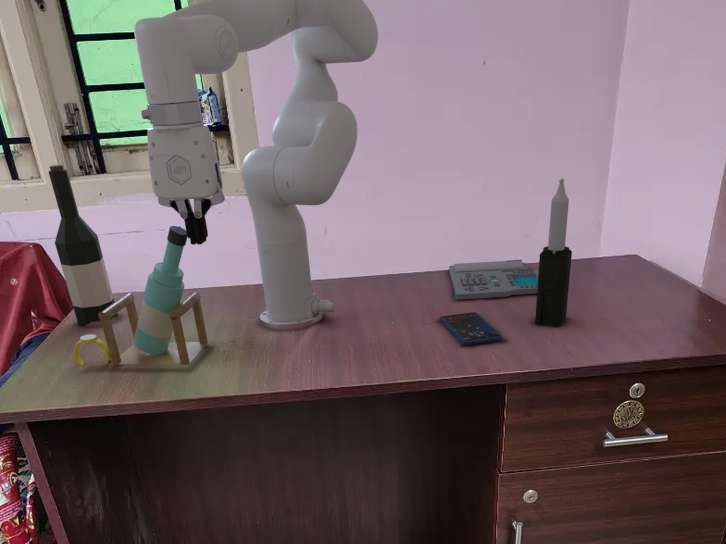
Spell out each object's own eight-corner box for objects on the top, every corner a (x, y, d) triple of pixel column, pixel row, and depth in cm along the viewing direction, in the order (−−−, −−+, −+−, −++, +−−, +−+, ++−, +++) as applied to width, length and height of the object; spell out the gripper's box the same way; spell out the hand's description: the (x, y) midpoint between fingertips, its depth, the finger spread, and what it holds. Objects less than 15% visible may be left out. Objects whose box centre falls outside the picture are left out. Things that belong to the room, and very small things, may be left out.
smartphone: (475, 311, 139) (503, 336, 127) (475, 315, 140) (503, 341, 127) (438, 316, 138) (462, 342, 126) (438, 320, 139) (462, 346, 126)
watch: (77, 373, 126) (67, 340, 123) (81, 367, 129) (72, 335, 125) (111, 370, 126) (102, 338, 123) (115, 364, 129) (106, 332, 125)
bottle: (217, 345, 130) (192, 221, 119) (205, 358, 125) (178, 230, 113) (145, 346, 132) (114, 224, 121) (131, 359, 127) (97, 233, 116)
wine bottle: (106, 327, 146) (63, 168, 130) (70, 327, 148) (23, 169, 132) (126, 314, 153) (87, 161, 137) (91, 314, 155) (49, 163, 139)
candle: (566, 318, 136) (580, 176, 122) (560, 327, 132) (573, 181, 119) (540, 316, 138) (550, 175, 124) (533, 324, 134) (543, 180, 121)
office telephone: (448, 259, 167) (534, 255, 166) (448, 271, 168) (533, 266, 168) (456, 287, 147) (553, 282, 146) (456, 300, 149) (552, 295, 148)
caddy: (210, 347, 133) (200, 291, 128) (189, 370, 124) (177, 311, 119) (137, 347, 136) (124, 292, 130) (111, 370, 126) (95, 312, 121)
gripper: (119, 121, 105) (146, 249, 115) (216, 116, 103) (236, 247, 113) (139, 116, 112) (164, 238, 121) (231, 111, 109) (249, 236, 119)
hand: (198, 242), depth 117 cm, fingers closed
